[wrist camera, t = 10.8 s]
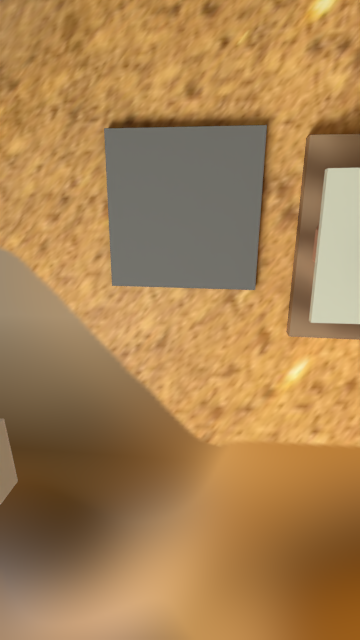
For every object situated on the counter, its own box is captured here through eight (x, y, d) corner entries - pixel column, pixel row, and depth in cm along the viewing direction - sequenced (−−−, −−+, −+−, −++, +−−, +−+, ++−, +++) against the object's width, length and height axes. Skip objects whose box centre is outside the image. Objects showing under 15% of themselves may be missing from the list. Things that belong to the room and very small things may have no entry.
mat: (107, 130, 35) (104, 128, 34) (265, 127, 34) (266, 125, 33) (114, 283, 40) (112, 285, 39) (254, 288, 38) (255, 289, 37)
